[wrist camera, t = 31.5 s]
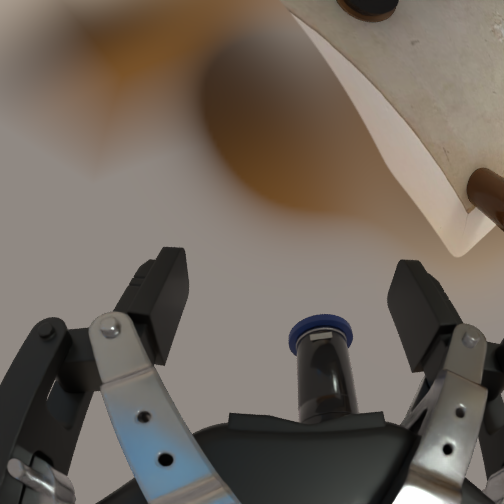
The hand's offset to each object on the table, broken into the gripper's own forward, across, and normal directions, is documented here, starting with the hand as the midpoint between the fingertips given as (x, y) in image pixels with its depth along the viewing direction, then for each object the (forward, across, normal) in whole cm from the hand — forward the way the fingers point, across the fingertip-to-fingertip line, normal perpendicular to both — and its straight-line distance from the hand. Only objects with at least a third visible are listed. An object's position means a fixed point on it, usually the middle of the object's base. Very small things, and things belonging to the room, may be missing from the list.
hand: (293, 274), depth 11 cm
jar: (+28, -32, +3) cm, 42 cm away
